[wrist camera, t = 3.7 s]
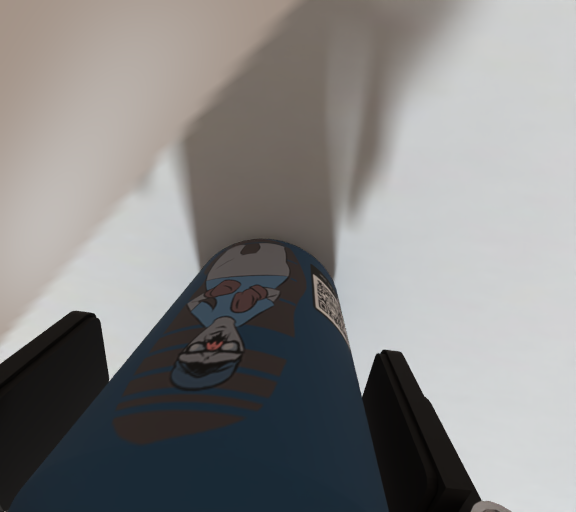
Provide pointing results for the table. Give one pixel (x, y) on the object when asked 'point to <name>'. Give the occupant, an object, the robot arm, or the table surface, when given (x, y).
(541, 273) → the table surface
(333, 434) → the soda can
